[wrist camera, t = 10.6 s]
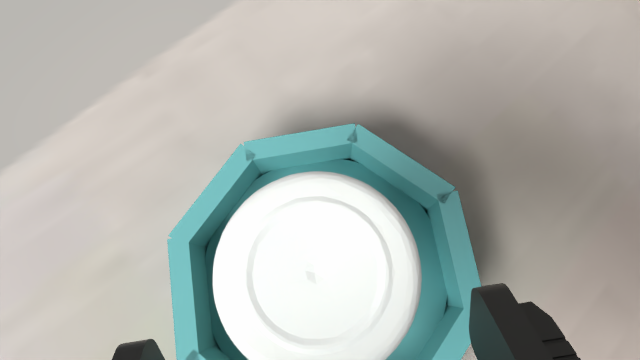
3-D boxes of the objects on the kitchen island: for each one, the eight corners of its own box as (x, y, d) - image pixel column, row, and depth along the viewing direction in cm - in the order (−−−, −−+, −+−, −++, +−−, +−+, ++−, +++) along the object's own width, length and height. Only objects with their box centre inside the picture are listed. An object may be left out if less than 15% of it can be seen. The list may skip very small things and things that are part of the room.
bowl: (424, 131, 24) (437, 109, 21) (487, 395, 21) (513, 414, 18) (183, 172, 24) (160, 155, 21) (207, 442, 21) (185, 469, 18)
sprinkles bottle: (299, 222, 23) (248, 142, 10) (383, 247, 22) (449, 198, 9) (272, 308, 22) (174, 349, 9) (359, 336, 21) (394, 424, 8)
